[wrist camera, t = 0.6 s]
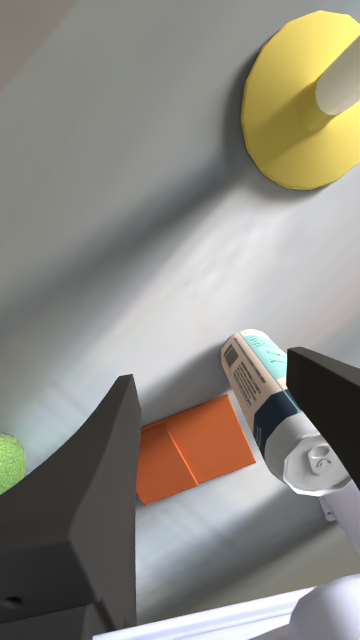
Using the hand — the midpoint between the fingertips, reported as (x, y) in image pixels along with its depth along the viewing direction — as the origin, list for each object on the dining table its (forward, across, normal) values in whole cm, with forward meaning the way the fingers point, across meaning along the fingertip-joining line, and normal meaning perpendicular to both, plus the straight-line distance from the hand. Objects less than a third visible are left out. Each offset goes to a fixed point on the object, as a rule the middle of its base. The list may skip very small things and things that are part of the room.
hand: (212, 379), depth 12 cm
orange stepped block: (+10, +2, +15) cm, 18 cm away
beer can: (+10, -5, +5) cm, 12 cm away
